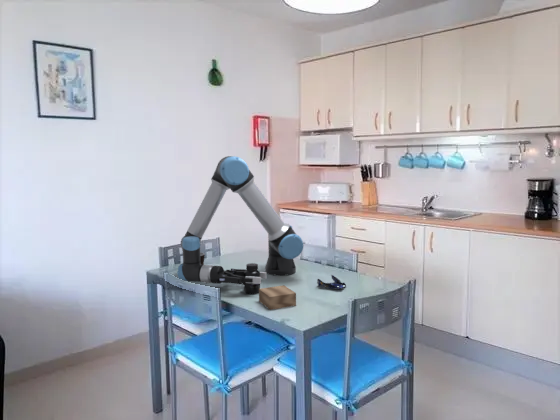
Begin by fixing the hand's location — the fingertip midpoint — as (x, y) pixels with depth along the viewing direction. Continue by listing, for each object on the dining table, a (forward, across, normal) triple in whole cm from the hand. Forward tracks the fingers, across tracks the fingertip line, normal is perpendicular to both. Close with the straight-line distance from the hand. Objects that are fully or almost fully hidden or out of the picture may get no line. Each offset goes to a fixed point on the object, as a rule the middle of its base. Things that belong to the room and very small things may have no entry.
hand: (263, 278), depth 189 cm
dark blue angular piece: (+27, -15, -7) cm, 31 cm away
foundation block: (+9, +10, -6) cm, 15 cm away
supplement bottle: (-5, 0, -7) cm, 8 cm away
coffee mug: (-40, -20, -7) cm, 45 cm away
